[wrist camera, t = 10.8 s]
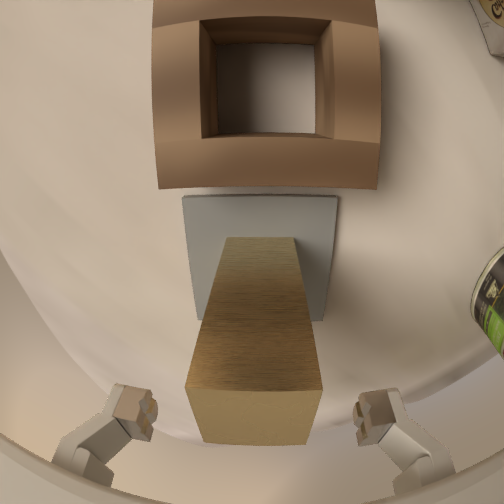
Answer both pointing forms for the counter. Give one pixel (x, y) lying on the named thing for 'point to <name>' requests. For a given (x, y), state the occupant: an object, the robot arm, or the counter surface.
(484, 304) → the coffee can
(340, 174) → the socket block
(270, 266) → the wooden square peg
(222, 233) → the rubber mat
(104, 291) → the counter surface
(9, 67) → the counter surface
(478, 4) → the coffee box
